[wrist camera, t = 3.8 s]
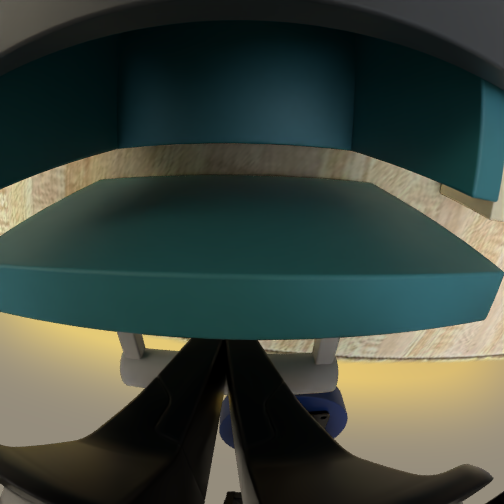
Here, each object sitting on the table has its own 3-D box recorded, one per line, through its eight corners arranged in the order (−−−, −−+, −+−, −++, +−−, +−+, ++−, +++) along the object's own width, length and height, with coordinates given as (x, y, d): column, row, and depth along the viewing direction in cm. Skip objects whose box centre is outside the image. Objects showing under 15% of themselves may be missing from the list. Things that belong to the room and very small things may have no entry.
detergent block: (482, 200, 12) (529, 226, 9) (439, 193, 12) (490, 220, 9) (490, 139, 11) (542, 153, 7) (447, 124, 11) (503, 133, 7)
